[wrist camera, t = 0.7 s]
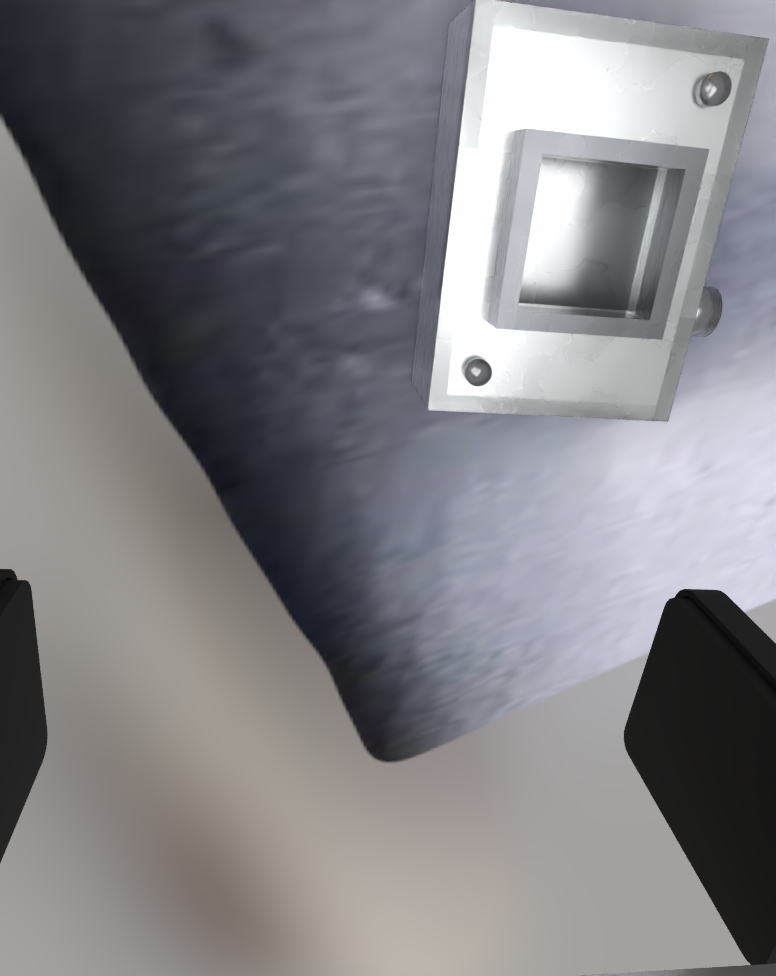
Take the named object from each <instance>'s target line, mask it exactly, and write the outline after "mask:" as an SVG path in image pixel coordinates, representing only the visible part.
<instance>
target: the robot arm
mask: <svg viewBox="0 0 776 976" xmlns="http://www.w3.org/2000/svg"><path fill="white" fill-rule="evenodd" d="M624 742H625V747H626V750H627V752H628V755H629V756H630V758H631V760H632V762H633V764H634V765H635V767H636V769H637V771H638V772H639V774H640V776H641V778H642V779H643V781H644V783H645V785H646V786H647V788H648V790H649V792H650V793H651V795H652V797H653V799H654V800H655V802H656V804H657V806H658V807H659V809H660V811H661V812H662V814H663V816H664V818H665V820H666V821H667V823H668V825H669V827H670V828H671V830H672V832H673V834H674V835H675V837H676V839H677V841H678V842H679V844H680V846H681V848H682V849H683V851H684V853H685V854H686V856H687V858H688V860H689V862H690V863H691V865H692V867H693V868H694V870H695V872H696V874H697V876H698V877H699V879H700V881H701V883H702V884H703V886H704V888H705V890H706V891H707V893H708V895H709V897H710V898H711V900H712V902H713V904H714V905H715V907H716V909H717V911H718V912H719V914H720V916H721V918H722V919H723V921H724V923H725V924H726V926H727V928H728V930H729V931H730V933H731V935H732V937H733V938H734V940H735V942H736V944H737V945H738V947H739V949H740V951H741V952H742V954H743V955H744V957H745V959H746V960H747V961H748V962H749V963H750V964H751V965H745V966H729V967H712V968H695V969H678V970H663V971H645V972H630V973H613V974H598V975H582V976H776V644H775V643H774V642H773V641H772V640H771V639H770V638H769V637H768V636H767V635H766V634H765V633H764V632H763V631H762V630H761V629H760V628H759V627H758V626H757V625H756V624H755V623H754V622H753V621H752V620H751V619H750V618H749V617H748V616H747V615H746V614H745V613H744V612H743V611H742V610H741V609H740V608H739V607H738V606H737V605H736V604H735V603H734V602H733V601H732V600H731V599H730V598H729V597H728V596H727V595H726V594H724V593H723V592H722V591H718V590H697V589H684V590H681V591H679V592H678V593H677V595H676V596H675V598H672V599H669V600H668V601H667V603H666V605H665V607H664V610H663V613H662V616H661V619H660V622H659V625H658V628H657V631H656V634H655V637H654V640H653V644H652V647H651V650H650V653H649V656H648V659H647V662H646V665H645V668H644V671H643V674H642V677H641V680H640V684H639V686H638V690H637V693H636V696H635V699H634V702H633V705H632V708H631V711H630V714H629V717H628V720H627V723H626V726H625V730H624ZM46 745H47V725H46V715H45V707H44V698H43V689H42V680H41V672H40V663H39V653H38V645H37V637H36V627H35V618H34V609H33V600H32V591H31V586H30V584H29V582H28V581H26V580H17V576H16V574H15V573H14V571H13V570H11V569H0V862H1V860H2V858H3V855H4V853H5V850H6V848H7V846H8V843H9V841H10V838H11V836H12V834H13V831H14V829H15V826H16V824H17V821H18V819H19V817H20V814H21V812H22V809H23V807H24V805H25V802H26V800H27V797H28V795H29V793H30V790H31V788H32V785H33V783H34V781H35V778H36V776H37V774H38V771H39V769H40V766H41V764H42V762H43V758H44V755H45V751H46Z"/></svg>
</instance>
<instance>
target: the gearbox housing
mask: <svg viewBox="0 0 776 976" xmlns="http://www.w3.org/2000/svg"><path fill="white" fill-rule="evenodd" d="M768 41H769V39H767V38H760V37H753V36H746V35H739V34H731V33H724V32H717V31H710V30H703V29H696V28H689V27H682V26H675V25H668V24H661V23H654V22H646V21H639V20H632V19H625V18H618V17H611V16H604V15H597V14H590V13H583V12H576V11H568V10H561V9H554V8H547V7H540V6H533V5H526V4H519V3H512V2H505V1H498V0H473V1H472V2H471V3H470V4H469V5H468V6H467V7H466V8H465V9H464V10H463V11H462V12H461V13H460V14H458V15H457V16H456V17H455V18H454V19H453V20H452V21H451V22H450V23H449V27H448V36H447V46H446V55H445V65H444V74H443V84H442V93H441V103H440V112H439V122H438V131H437V141H436V150H435V160H434V169H433V179H432V188H431V198H430V207H429V217H428V226H427V236H426V245H425V255H424V264H423V274H422V283H421V293H420V302H419V312H418V321H417V331H416V340H415V350H414V359H413V369H412V378H411V381H412V383H413V385H414V387H415V388H416V390H417V392H418V393H419V395H420V397H421V399H422V400H423V402H424V404H425V406H426V407H427V409H428V410H440V411H460V412H481V413H502V414H522V415H543V416H564V417H584V418H605V419H626V420H646V421H667V422H668V420H669V416H670V412H671V409H672V405H673V401H674V397H675V394H676V390H677V386H678V382H679V378H680V375H681V371H682V367H683V363H684V359H685V356H686V352H687V348H688V344H689V340H690V337H691V336H701V337H705V336H708V335H709V334H711V333H712V332H713V331H714V329H715V328H716V326H717V324H718V322H719V320H720V317H721V312H722V298H721V294H720V292H719V291H718V289H716V288H715V287H707V286H704V284H705V280H706V276H707V272H708V268H709V265H710V261H711V257H712V253H713V250H714V246H715V242H716V238H717V234H718V231H719V227H720V223H721V219H722V215H723V212H724V208H725V204H726V200H727V196H728V193H729V189H730V185H731V181H732V178H733V174H734V170H735V166H736V162H737V159H738V155H739V151H740V147H741V143H742V140H743V136H744V132H745V128H746V124H747V121H748V117H749V113H750V109H751V106H752V102H753V98H754V94H755V90H756V87H757V83H758V79H759V75H760V71H761V68H762V64H763V60H764V56H765V52H766V49H767V45H768Z"/></svg>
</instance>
